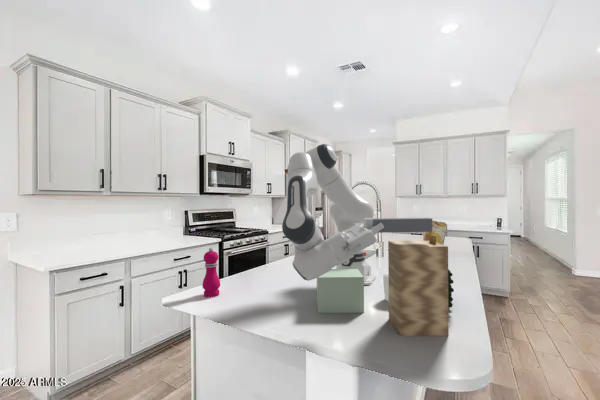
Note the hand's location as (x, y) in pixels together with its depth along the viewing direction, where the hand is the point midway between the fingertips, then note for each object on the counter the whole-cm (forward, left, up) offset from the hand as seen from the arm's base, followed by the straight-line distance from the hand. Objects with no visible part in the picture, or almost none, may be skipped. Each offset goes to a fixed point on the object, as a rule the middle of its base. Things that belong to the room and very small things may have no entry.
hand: (380, 223), depth 95 cm
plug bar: (-3, +4, -2) cm, 6 cm away
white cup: (-26, -5, -32) cm, 42 cm away
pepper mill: (+10, -70, -32) cm, 78 cm away
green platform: (-8, -19, -32) cm, 38 cm away
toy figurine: (-34, +10, -32) cm, 48 cm away
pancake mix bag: (-73, -1, -32) cm, 80 cm away
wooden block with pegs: (-6, +9, -32) cm, 34 cm away
